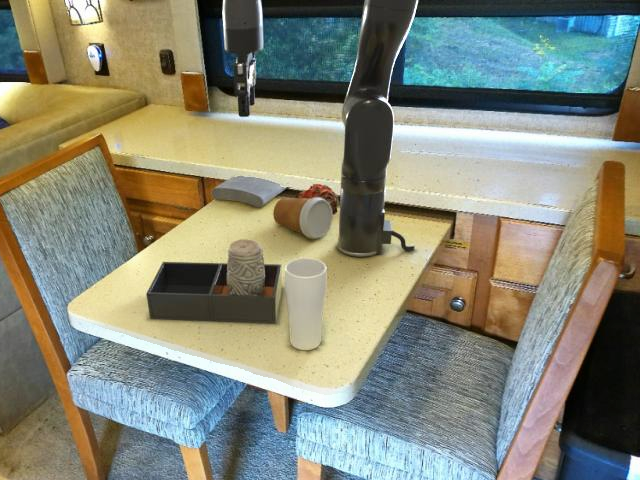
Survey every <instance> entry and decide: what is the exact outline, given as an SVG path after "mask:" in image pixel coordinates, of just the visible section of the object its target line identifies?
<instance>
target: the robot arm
mask: <svg viewBox="0 0 640 480" xmlns="http://www.w3.org/2000/svg"><path fill="white" fill-rule="evenodd" d="M418 3H419V0H364V3H363V8H362V15H361V21H360V28H359V34H358V44H357V53H356V59H355V63H354V68H353V72H352V75H351V78H350V82H349V85H348V89H347V92H346V94H345V98H344V102H343V105H342V108H341V120H342V123H343V127H344V144H343V157H342V160H341V164H340V165H341V167H340V168H341V169H340V192H339V193H340V196H339V203H340V205H339V218H338V219H339V222H338V242H337V248H338V250H339V252H341V253H342V254H344V255H346V256H350V257H357V258H365V257H372V256H375V255H381V254H382V253H383V245H391V244H392V237H394V238H396V239H398V240H399V241H400V247H401V249H402V250H404V251H406V252H412V251H413V252H414V251H415V245H411V246H409V245H406V244H407V243H406V239H405V237H404V236H403V235H402V234H401V233H399V232H397V231H394V230H393V229H392V222H391V220H390V219H385V216H386V215H385V213H386V212H385V201H386V200H385V199H386V188H387V176H388V166H389V164H390V162H391V156H392V148H393V137H394V127H395V116H394V111H393V108H392V106H391V104H390V103H389V102H388V101H389V92H390V86H391V85H390V83H391V79H392V78H391V77H392V75H393V68H394V66H395V62H396V59H397V57H398V55H399V53H400V50H401V48H402V47H403V44H404V43H405V40H406V38H407V36H408V34H409V31H410V29H411V26H412V24H413V20H414V18H415V15H416V10H417V7H418ZM263 20H264V17H263V5H262V0H222V27H223V43H224V45H223V46H224V51H225V52H226V53H228V54H235V55H236V59H235V62H233V65H232V67H233V83H234V93H233V94H234V97H236V98H237V109H238V110H237V111H238V117H240V118H248V117H250V115H251V106H252V107H253V106H254V105H255V104H256V97H255V95H256V94H255V85H256V81H257V70H256V69H257V61H256V53H259V52H261V51H262V50H263V49H264V21H263ZM241 88H243V89H241Z"/></svg>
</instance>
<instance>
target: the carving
mask: <svg viewBox="0 0 640 480" xmlns="http://www.w3.org/2000/svg"><path fill="white" fill-rule="evenodd" d="M226 263H227V272H228V273H227V288H228V295H252V296H262V294H263V291H264V289H263V288H264V286H265V284H264V282H265V266H264V264H265V257H264V250H263V248H262V245H261V244H260V243H259V242H258V241H257V240H253V239H248V238H241V239H236V240H234V241H233V242H231V244H229V246H228V249H227V261H226Z"/></svg>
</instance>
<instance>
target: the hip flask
mask: <svg viewBox="0 0 640 480" xmlns="http://www.w3.org/2000/svg"><path fill="white" fill-rule="evenodd" d="M287 189H288V188H282V187H281V186H280V184H278V183H275V182H272V181H269V180H265V179H261V178H255V177H244V176H237V177H233V176H231V177H230V178H228V179H226V180H225V181H223V182H222V183H220V184H218V185H217V186H215V187H214V188H212V190H211V196H212V197H213V198H214V199H215V200H227V201H234V202H240V203H244V204H247V205H250V206H253V207H255V208H262V207H263V206H265V205H266V204H268V203H269V202H271V201H272V200H273V199H275V198H276V197H277V196H279V195H280V194H281V193H283V192H284V191H285V190H287Z"/></svg>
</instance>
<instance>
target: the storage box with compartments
mask: <svg viewBox="0 0 640 480" xmlns="http://www.w3.org/2000/svg"><path fill="white" fill-rule="evenodd" d="M264 266H265V282H264V284H265V286H264V288H263V289H264V291H263V294H262V296H252V295H228V288H227V273H228V272H227V262H187V261H186V262H185V261H184V262H183V261H182V262H181V261H162V263H161V264H160V267H159V268H158V270H157V272H156V274H155V275H154V278H153V279H152V282H151V283H150V286H149V287H148V289H147V291H146V295H145V296H146V301H147V307H148V315H149V319H150V320H170V321H193V322H195V321H196V322H219V323H220V322H223V323H245V324H246V323H247V324H248V323H249V324H272V325H273V324H274V325H276V324H277V320H278V314H279V309H280V302H281V296H282V291H283V290H282V289H283V277H282V275H283V274H282V264H277V263H276V264H274V263H272V264H271V263H264Z"/></svg>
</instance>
